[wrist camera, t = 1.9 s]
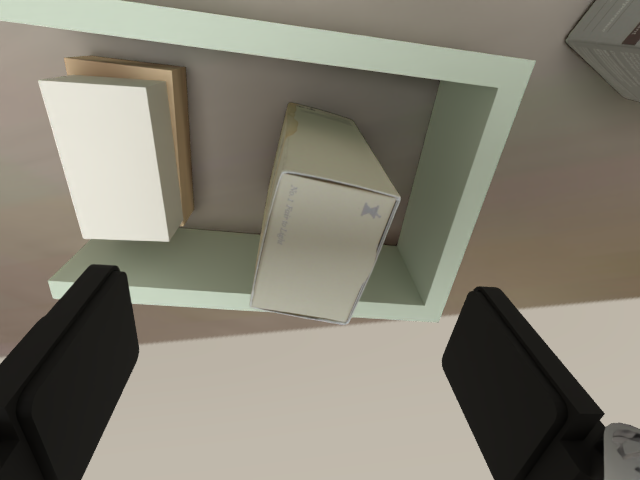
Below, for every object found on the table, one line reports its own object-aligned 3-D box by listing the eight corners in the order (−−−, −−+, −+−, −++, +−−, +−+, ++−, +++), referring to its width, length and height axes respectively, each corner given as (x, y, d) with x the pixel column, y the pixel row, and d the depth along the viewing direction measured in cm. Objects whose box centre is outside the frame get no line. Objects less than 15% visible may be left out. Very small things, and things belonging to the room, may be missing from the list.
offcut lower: (187, 66, 21) (171, 70, 18) (195, 207, 25) (183, 226, 23) (93, 55, 20) (63, 57, 18) (118, 200, 25) (97, 219, 22)
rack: (467, 54, 21) (535, 60, 15) (408, 260, 28) (438, 322, 22) (68, -4, 19) (-43, -24, 13) (111, 236, 26) (53, 298, 20)
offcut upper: (165, 81, 19) (145, 87, 16) (183, 219, 23) (169, 241, 20) (72, 74, 18) (37, 80, 16) (107, 216, 22) (83, 238, 20)
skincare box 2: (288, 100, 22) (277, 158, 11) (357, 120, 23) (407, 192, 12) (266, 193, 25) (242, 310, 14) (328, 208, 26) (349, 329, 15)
